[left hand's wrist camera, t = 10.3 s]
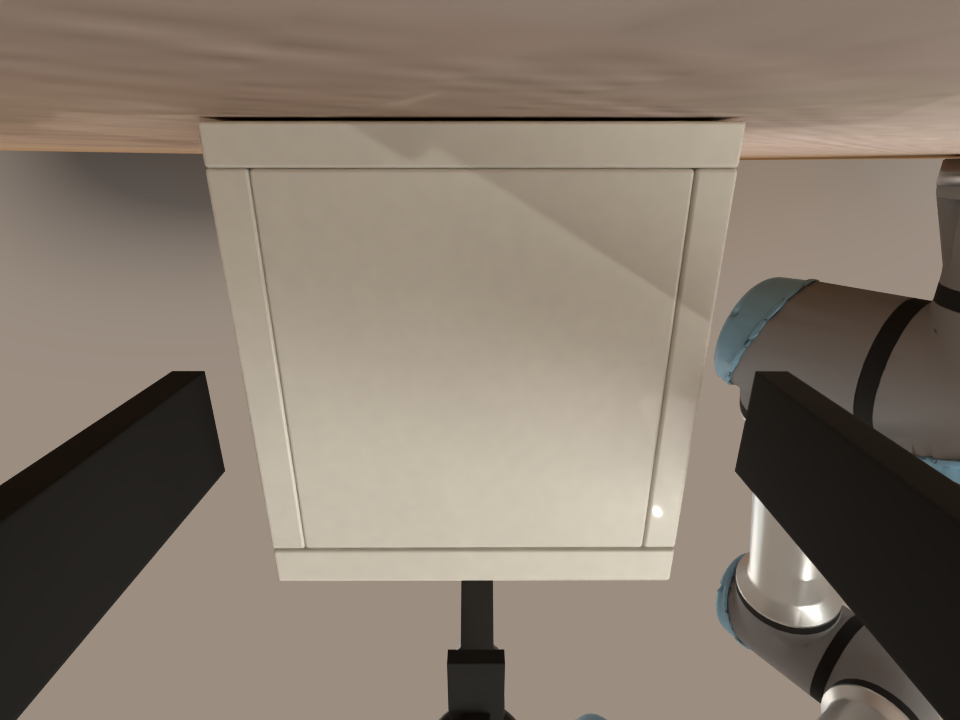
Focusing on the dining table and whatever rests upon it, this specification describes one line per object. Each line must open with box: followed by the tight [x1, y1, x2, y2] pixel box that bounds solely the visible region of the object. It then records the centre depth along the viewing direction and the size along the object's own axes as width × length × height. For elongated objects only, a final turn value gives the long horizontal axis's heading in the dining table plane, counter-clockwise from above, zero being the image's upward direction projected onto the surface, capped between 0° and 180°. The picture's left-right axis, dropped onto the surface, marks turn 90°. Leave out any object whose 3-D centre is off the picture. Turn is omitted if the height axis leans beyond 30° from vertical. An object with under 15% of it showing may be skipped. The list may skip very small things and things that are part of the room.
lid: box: [274, 544, 674, 581], centre depth 21 cm, size 18×9×9 cm, turn 0°
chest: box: [198, 121, 745, 548], centre depth 18 cm, size 17×9×9 cm, turn 0°
